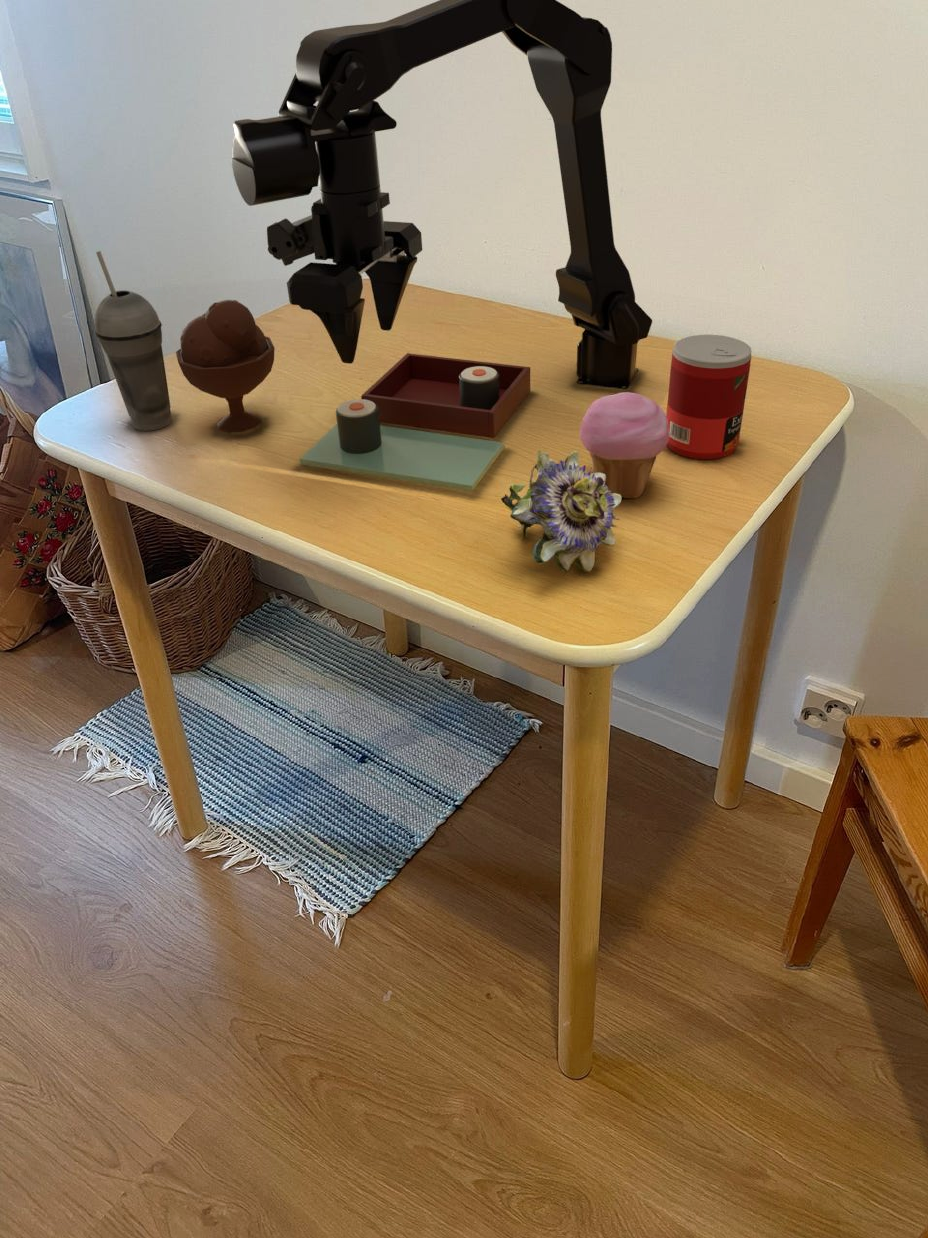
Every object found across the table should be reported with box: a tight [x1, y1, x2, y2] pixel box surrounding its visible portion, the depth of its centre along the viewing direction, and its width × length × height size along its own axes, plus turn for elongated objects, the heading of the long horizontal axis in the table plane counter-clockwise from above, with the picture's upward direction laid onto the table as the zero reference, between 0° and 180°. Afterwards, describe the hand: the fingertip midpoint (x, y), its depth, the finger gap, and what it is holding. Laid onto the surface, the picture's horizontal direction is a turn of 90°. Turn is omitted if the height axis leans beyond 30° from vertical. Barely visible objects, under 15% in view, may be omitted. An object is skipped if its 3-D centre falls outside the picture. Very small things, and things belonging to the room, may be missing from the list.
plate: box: [299, 423, 505, 492], centre depth 105 cm, size 20×10×1 cm, turn 69°
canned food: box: [665, 334, 752, 460], centre depth 102 cm, size 8×8×11 cm
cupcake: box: [579, 391, 670, 499], centre depth 95 cm, size 9×9×10 cm
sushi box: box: [360, 352, 531, 439], centre depth 114 cm, size 16×13×4 cm
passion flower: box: [500, 449, 623, 573], centre depth 88 cm, size 11×11×12 cm
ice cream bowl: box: [175, 299, 276, 433], centre depth 109 cm, size 11×11×15 cm
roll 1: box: [335, 398, 382, 454], centre depth 104 cm, size 5×5×5 cm
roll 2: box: [459, 366, 499, 410], centre depth 112 cm, size 5×5×5 cm
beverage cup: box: [94, 250, 173, 432], centre depth 109 cm, size 7×7×20 cm
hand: (367, 345), depth 100 cm, fingers open, 9 cm apart
